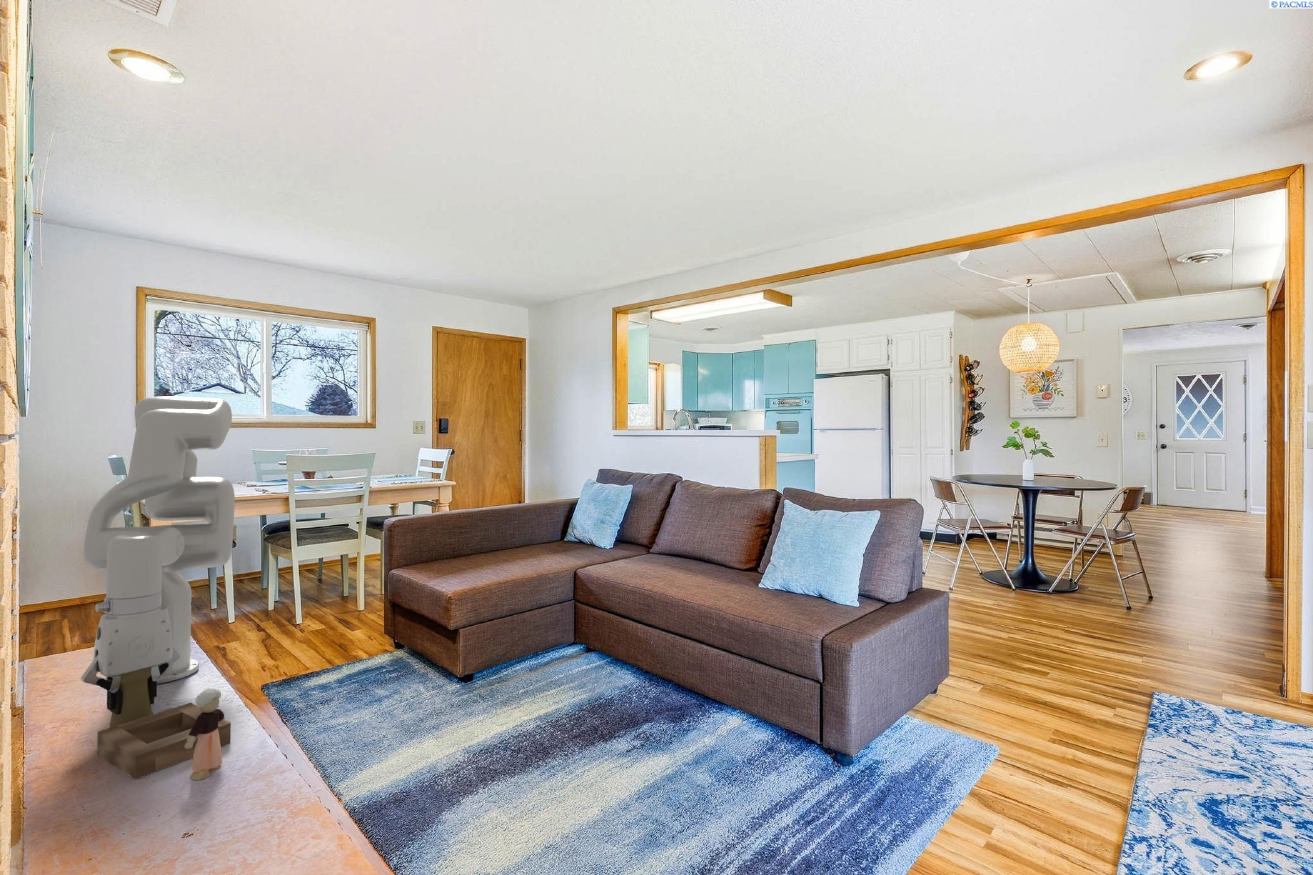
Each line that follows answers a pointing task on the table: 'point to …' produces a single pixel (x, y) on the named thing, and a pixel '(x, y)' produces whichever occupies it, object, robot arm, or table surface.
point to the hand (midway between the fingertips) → (132, 706)
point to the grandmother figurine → (206, 735)
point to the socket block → (153, 741)
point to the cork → (133, 697)
